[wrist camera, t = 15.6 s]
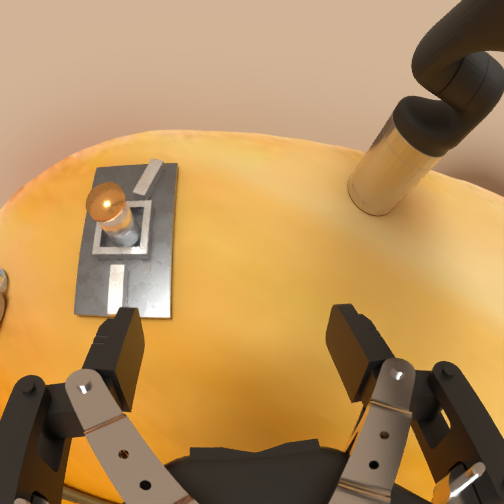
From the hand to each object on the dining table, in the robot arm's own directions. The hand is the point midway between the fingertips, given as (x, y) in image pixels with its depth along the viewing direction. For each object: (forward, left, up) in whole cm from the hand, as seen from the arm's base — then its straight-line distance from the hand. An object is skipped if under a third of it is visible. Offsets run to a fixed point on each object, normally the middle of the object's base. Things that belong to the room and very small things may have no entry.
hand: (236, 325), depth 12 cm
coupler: (+6, -20, -27) cm, 34 cm away
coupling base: (+6, -20, -28) cm, 35 cm away
